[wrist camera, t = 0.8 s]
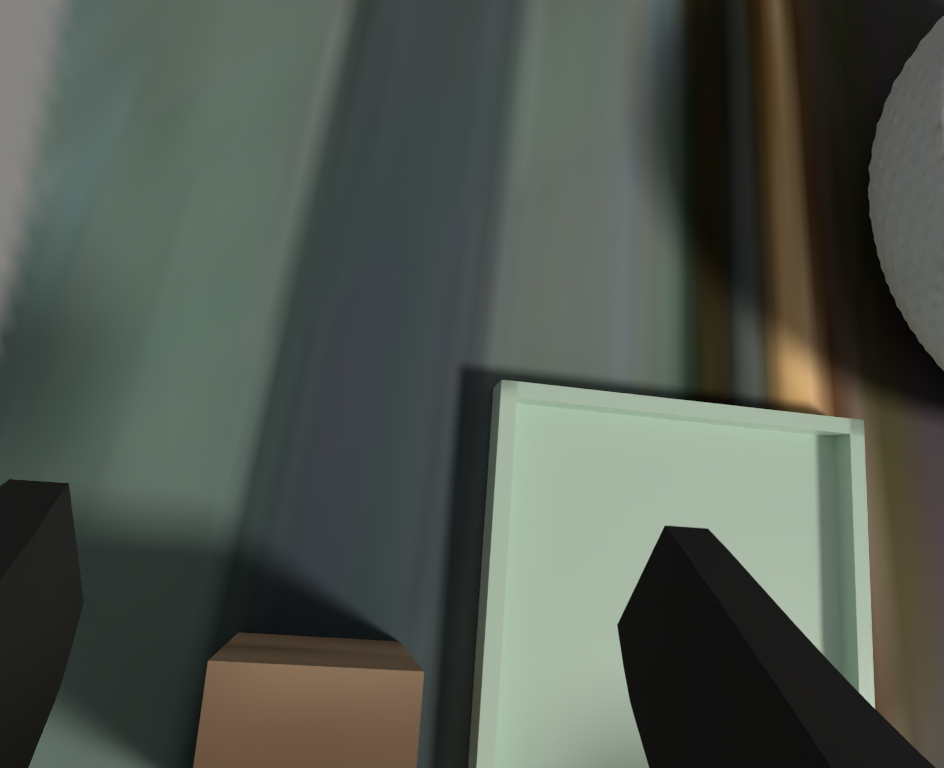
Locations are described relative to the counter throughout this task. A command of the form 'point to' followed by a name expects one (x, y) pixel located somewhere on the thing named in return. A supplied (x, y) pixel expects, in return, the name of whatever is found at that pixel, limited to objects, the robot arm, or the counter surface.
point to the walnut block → (310, 704)
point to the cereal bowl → (913, 192)
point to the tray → (646, 551)
